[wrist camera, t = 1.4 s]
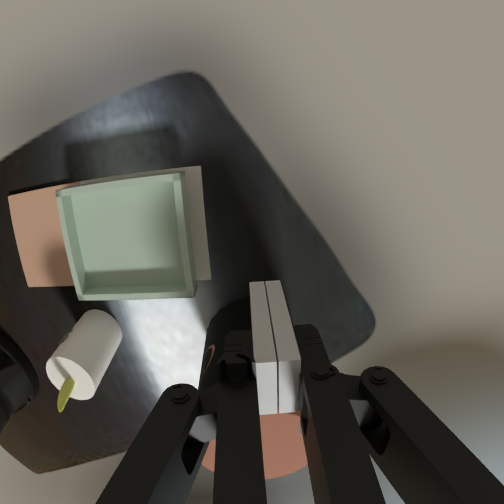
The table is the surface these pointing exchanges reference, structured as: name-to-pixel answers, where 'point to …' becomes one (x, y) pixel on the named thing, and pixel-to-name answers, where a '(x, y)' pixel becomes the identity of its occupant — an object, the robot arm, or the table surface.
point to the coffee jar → (272, 425)
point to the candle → (83, 356)
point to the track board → (51, 238)
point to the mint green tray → (129, 237)
